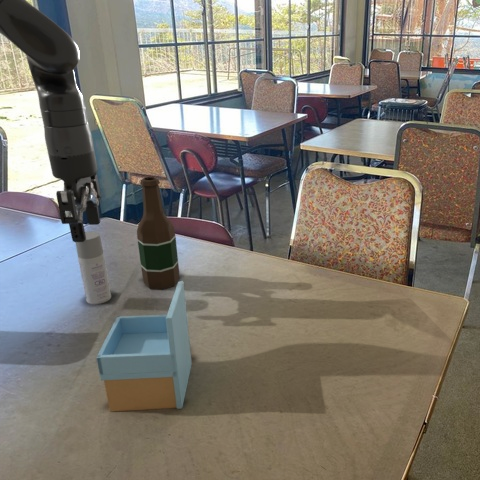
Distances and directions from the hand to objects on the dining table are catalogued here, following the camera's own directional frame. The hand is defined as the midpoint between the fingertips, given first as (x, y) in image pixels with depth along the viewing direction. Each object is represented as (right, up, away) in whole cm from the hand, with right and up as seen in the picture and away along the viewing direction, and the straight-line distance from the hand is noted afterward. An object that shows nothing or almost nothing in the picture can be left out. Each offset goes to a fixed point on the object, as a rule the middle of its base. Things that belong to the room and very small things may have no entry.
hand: (87, 232), depth 93 cm
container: (0, -14, +6) cm, 16 cm away
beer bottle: (+10, -11, +15) cm, 21 cm away
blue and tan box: (+18, -25, -17) cm, 35 cm away
